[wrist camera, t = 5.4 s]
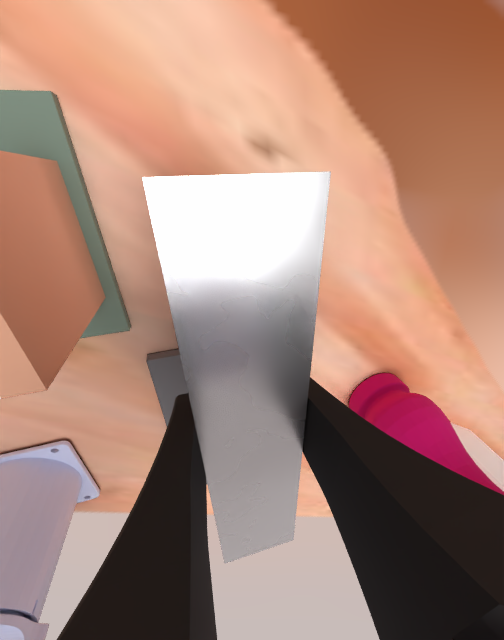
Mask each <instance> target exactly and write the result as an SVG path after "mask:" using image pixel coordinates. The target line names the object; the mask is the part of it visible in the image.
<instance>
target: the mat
mask: <svg viewBox="0 0 504 640" xmlns="http://www.w3.org/2000/svg"><path fill="white" fill-rule="evenodd" d="M0 151H6V152H11V153H16V154H22V155H27V156H33V157H38V158H43V159H49V160H54V161H57V162H58V165H59V168H60V171H61V174H62V176H63V179H64V182H65V185H66V188H67V190H68V193H69V196H70V199H71V202H72V204H73V207H74V210H75V213H76V216H77V218H78V221H79V224H80V227H81V230H82V232H83V235H84V238H85V241H86V244H87V246H88V249H89V252H90V255H91V258H92V260H93V263H94V266H95V269H96V272H97V274H98V277H99V280H100V283H101V286H102V289H103V291H104V294H105V297H106V298H105V299H104V301H103V303H102V304H101V306H100V307H99V309H98V310H97V312H96V314H95V315H94V317H93V318H92V320H91V321H90V323H89V325H88V326H87V328H86V329H85V331H84V332H83V334H82V336H81V337H80V338H85V337H91V336H98V335H104V334H111V333H117V332H124V331H130V328H131V325H130V322H129V319H128V315H127V312H126V309H125V306H124V303H123V300H122V297H121V294H120V291H119V288H118V284H117V281H116V278H115V275H114V272H113V269H112V266H111V263H110V260H109V257H108V253H107V250H106V247H105V244H104V241H103V238H102V235H101V232H100V229H99V226H98V222H97V219H96V216H95V213H94V210H93V207H92V204H91V201H90V198H89V195H88V191H87V188H86V185H85V182H84V179H83V176H82V173H81V170H80V167H79V164H78V160H77V157H76V154H75V151H74V148H73V145H72V142H71V139H70V136H69V133H68V129H67V126H66V123H65V120H64V117H63V114H62V111H61V108H60V105H59V102H58V98H57V95H55V94H54V93H52V92H51V91H20V90H0Z"/></svg>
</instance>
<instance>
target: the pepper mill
mask: <svg viewBox="0 0 504 640" xmlns="http://www.w3.org/2000/svg"><path fill="white" fill-rule="evenodd" d="M349 408H350V409H351V410H352V411H354V412H355V413H357V414H358V415H359V416H361V417H362V418H364V419H365V420H367V421H368V422H369V423H371V424H372V425H374V426H375V427H377V428H378V429H380V430H381V431H383V432H385V433H386V434H388V435H389V436H391V437H393V438H394V439H396V440H398V441H399V442H401V443H403V444H404V445H406V446H408V447H409V448H411V449H413V450H415V451H416V452H418V453H420V454H422V455H424V456H425V457H427V458H429V459H431V460H433V461H435V462H437V463H439V464H441V465H443V466H444V467H446V468H448V469H450V470H452V471H454V472H456V473H458V474H460V475H462V476H464V477H466V478H468V479H470V480H472V481H475V482H477V483H479V484H481V485H483V486H485V487H487V488H490V489H492V490H494V491H496V492H498V493H500V494H503V495H504V491H502V490H501V489H500V488H499V487H498V486H497V485H496V484H494V483H493V482H492V481H491V480H490V479H489V478H488V477H487V475H486V474H485V473H484V472H483V471H482V470H481V469H480V468H479V467H478V466H477V465H476V463H475V462H474V461H473V459H472V458H471V457H470V455H469V454H468V452H467V451H466V449H465V448H464V446H463V444H462V443H461V441H460V439H459V437H458V436H457V434H456V432H455V430H454V428H453V426H452V425H451V423H450V421H449V420H448V418H447V417H446V416H445V414H444V413H443V412H442V410H441V409H440V408H439V407H438V406H437V405H436V404H435V403H434V402H433V401H431V400H430V399H429V398H427V397H426V396H423V395H420V394H416V393H410V392H409V388H408V387H407V386H406V385H405V384H404V383H403V382H402V381H401V380H400V379H399V378H398V377H396V376H395V375H393V374H390V373H381V374H377V375H374V376H371V377H370V378H368V379H366V380H365V381H363V382H362V383H361V384H360V385H359V386H358V387H357V388H356V389H355V390H354V392H353V393H352V395H351V397H350V401H349Z"/></svg>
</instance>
